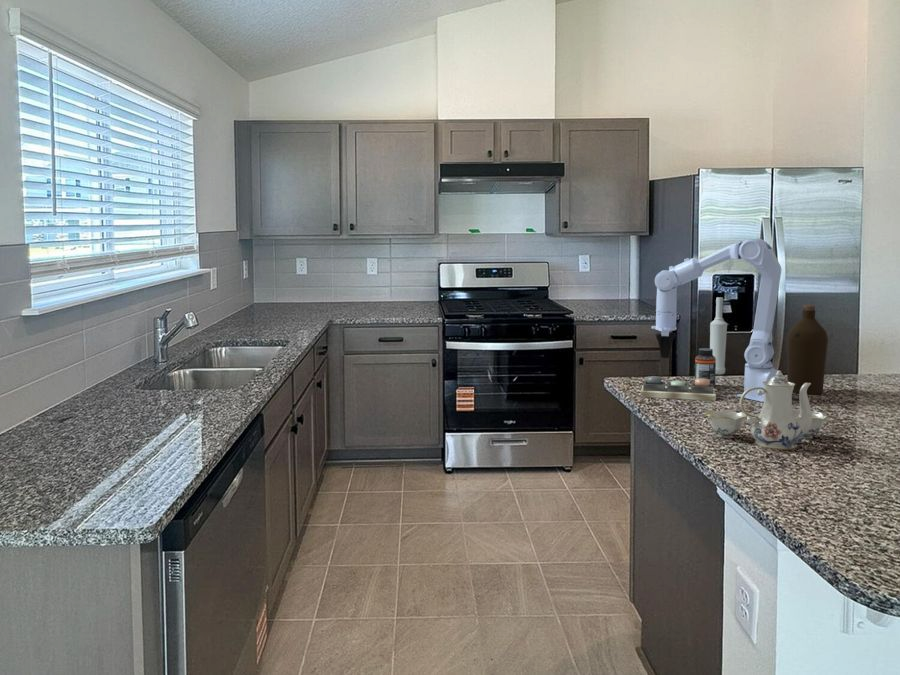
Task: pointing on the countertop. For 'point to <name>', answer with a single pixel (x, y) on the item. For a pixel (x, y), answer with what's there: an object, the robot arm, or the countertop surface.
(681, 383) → the button sage
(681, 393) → the panel
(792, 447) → the chinaware
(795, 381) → the olive oil
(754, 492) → the countertop surface
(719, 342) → the bottle
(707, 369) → the supplement bottle
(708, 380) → the button terracotta
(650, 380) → the button charcoal
